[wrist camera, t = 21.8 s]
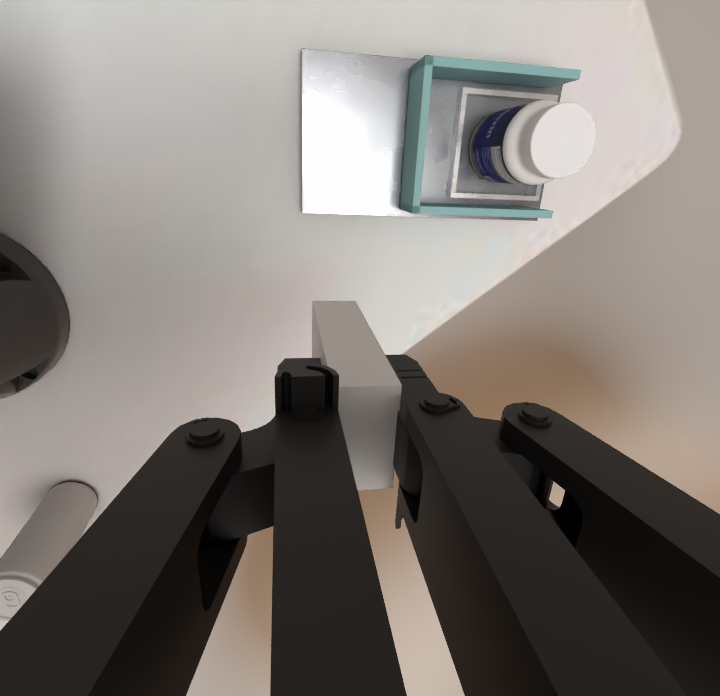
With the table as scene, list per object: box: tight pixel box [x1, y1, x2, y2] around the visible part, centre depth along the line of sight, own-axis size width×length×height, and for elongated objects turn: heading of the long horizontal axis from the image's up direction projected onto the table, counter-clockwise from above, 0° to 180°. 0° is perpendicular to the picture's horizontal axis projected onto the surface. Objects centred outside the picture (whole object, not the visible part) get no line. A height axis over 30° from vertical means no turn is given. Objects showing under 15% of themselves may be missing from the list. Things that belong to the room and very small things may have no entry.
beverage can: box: [0, 482, 97, 621], centre depth 41 cm, size 5×5×12 cm
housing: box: [400, 55, 581, 218], centre depth 36 cm, size 12×11×4 cm
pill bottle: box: [469, 100, 596, 185], centre depth 34 cm, size 6×6×10 cm
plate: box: [301, 49, 563, 221], centre depth 38 cm, size 22×12×2 cm, turn 87°
